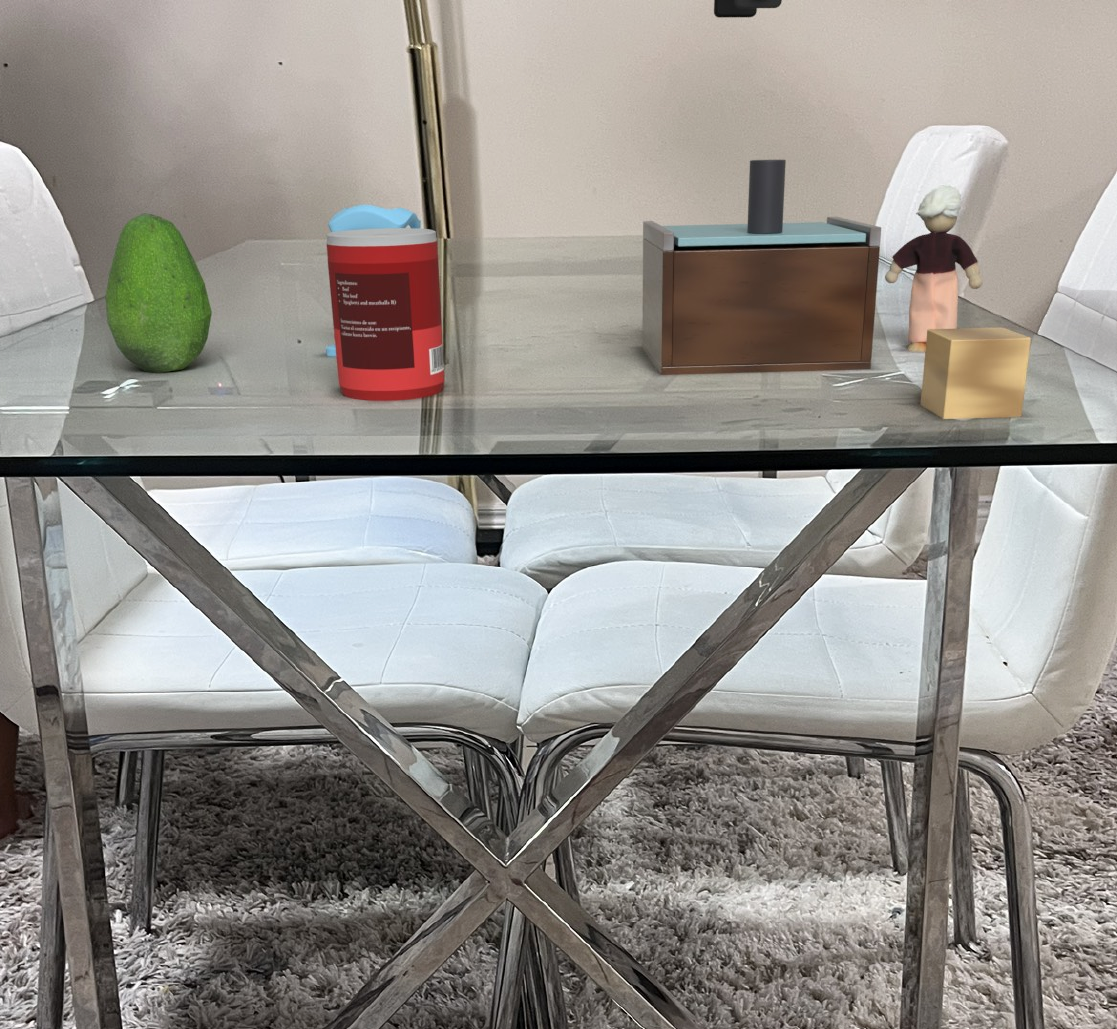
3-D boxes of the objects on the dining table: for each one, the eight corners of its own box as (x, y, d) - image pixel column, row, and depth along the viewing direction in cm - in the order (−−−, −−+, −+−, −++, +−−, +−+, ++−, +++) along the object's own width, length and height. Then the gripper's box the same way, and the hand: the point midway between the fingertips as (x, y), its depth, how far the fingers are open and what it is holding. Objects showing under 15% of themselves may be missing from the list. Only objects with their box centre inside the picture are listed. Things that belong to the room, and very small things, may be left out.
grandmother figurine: (975, 349, 111) (993, 184, 105) (974, 356, 107) (992, 186, 102) (881, 347, 113) (893, 184, 107) (876, 354, 109) (889, 187, 104)
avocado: (185, 382, 103) (163, 215, 98) (97, 379, 105) (71, 216, 100) (235, 366, 110) (217, 209, 105) (151, 363, 112) (129, 210, 107)
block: (994, 405, 89) (1003, 327, 87) (1021, 420, 84) (1031, 337, 82) (919, 407, 88) (926, 329, 86) (942, 422, 84) (951, 340, 82)
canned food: (423, 381, 102) (414, 226, 97) (462, 397, 95) (454, 232, 90) (325, 390, 99) (311, 231, 94) (358, 408, 92) (344, 237, 87)
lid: (822, 229, 110) (826, 155, 108) (865, 242, 98) (871, 158, 95) (656, 233, 110) (657, 159, 108) (677, 246, 97) (679, 162, 95)
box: (828, 345, 114) (836, 216, 110) (870, 372, 102) (881, 227, 97) (642, 350, 114) (643, 221, 110) (661, 377, 101) (663, 232, 97)
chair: (443, 346, 119) (435, 200, 114) (411, 360, 111) (401, 205, 106) (362, 344, 120) (351, 201, 115) (325, 358, 113) (311, 206, 108)
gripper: (845, -313, 82) (823, 3, 90) (789, -245, 98) (774, 20, 105) (724, -314, 82) (712, 4, 89) (687, -245, 98) (679, 20, 105)
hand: (745, 12), depth 97 cm, fingers open, 9 cm apart
